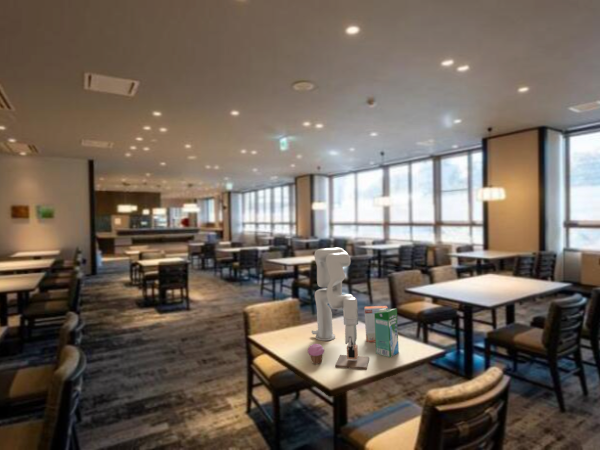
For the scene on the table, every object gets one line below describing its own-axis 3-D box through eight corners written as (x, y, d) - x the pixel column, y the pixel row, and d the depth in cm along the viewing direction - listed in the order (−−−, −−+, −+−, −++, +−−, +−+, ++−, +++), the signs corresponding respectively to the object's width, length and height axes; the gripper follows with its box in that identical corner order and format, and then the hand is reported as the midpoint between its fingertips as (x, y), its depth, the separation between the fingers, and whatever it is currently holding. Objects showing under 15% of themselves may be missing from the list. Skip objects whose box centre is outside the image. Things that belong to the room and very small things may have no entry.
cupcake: (327, 364, 189) (326, 345, 189) (311, 367, 187) (310, 348, 186) (321, 358, 198) (320, 340, 197) (306, 361, 195) (305, 342, 195)
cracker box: (388, 338, 224) (386, 305, 224) (389, 341, 218) (388, 307, 218) (365, 338, 226) (364, 305, 225) (366, 342, 220) (365, 308, 219)
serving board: (335, 367, 185) (335, 364, 185) (340, 356, 198) (340, 354, 198) (366, 369, 180) (366, 367, 180) (369, 358, 194) (369, 356, 194)
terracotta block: (347, 358, 188) (346, 347, 188) (348, 355, 192) (348, 344, 192) (356, 359, 186) (356, 347, 186) (357, 355, 191) (357, 344, 191)
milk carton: (384, 348, 207) (382, 305, 207) (398, 352, 201) (396, 308, 200) (376, 353, 201) (374, 309, 201) (390, 357, 194) (388, 311, 194)
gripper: (346, 316, 198) (347, 349, 199) (340, 325, 182) (342, 361, 182) (360, 316, 196) (361, 349, 196) (355, 326, 180) (357, 362, 180)
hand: (352, 354), depth 189 cm, fingers closed on terracotta block, 5 cm apart
